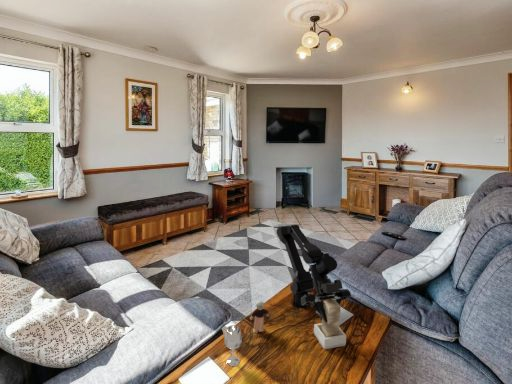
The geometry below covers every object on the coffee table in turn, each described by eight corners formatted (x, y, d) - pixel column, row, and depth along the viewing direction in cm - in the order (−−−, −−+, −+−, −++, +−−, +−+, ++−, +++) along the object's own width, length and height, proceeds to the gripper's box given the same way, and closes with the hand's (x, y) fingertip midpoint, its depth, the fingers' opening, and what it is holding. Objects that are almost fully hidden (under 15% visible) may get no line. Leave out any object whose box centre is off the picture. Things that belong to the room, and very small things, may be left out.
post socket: (324, 349, 103) (324, 339, 102) (313, 333, 111) (314, 324, 110) (345, 345, 105) (346, 335, 104) (333, 330, 113) (334, 321, 112)
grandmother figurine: (253, 336, 109) (253, 306, 106) (248, 330, 112) (249, 301, 109) (270, 330, 112) (271, 301, 110) (265, 324, 115) (266, 296, 113)
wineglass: (224, 355, 99) (224, 324, 97) (241, 354, 100) (241, 323, 97) (224, 368, 94) (224, 336, 91) (242, 367, 94) (242, 335, 92)
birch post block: (326, 339, 105) (329, 307, 102) (321, 331, 109) (323, 300, 106) (338, 337, 106) (340, 306, 103) (331, 329, 110) (334, 299, 107)
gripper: (305, 275, 104) (317, 321, 96) (350, 269, 109) (365, 313, 100) (296, 283, 113) (306, 326, 105) (338, 278, 118) (351, 319, 109)
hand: (332, 321), depth 105 cm, fingers closed on birch post block, 4 cm apart
